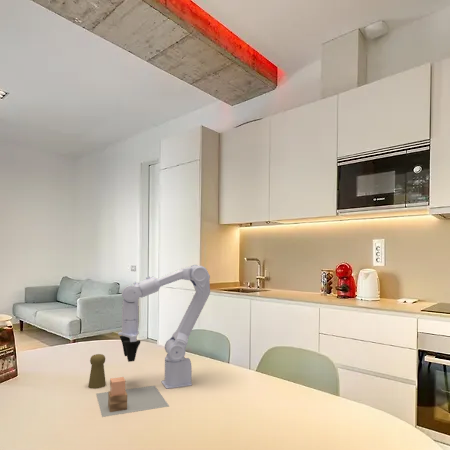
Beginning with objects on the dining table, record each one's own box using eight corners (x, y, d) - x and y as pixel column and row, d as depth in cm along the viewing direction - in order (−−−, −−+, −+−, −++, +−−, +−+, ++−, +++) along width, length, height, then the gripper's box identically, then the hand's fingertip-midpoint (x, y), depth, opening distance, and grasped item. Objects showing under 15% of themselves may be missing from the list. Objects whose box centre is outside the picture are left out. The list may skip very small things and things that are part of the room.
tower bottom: (124, 403, 121) (124, 396, 121) (127, 409, 116) (127, 402, 116) (108, 406, 119) (108, 398, 119) (110, 412, 114) (110, 404, 114)
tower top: (124, 396, 121) (124, 389, 121) (127, 402, 116) (127, 394, 117) (108, 398, 119) (108, 391, 119) (110, 404, 114) (110, 397, 115)
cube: (123, 390, 120) (123, 376, 121) (125, 394, 117) (125, 380, 117) (110, 391, 119) (110, 378, 119) (111, 396, 115) (111, 382, 115)
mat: (154, 386, 137) (154, 385, 137) (169, 406, 119) (169, 406, 119) (96, 394, 129) (96, 393, 129) (102, 417, 111) (102, 416, 111)
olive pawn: (100, 389, 133) (101, 357, 134) (84, 388, 135) (85, 356, 135) (109, 383, 139) (109, 353, 140) (93, 382, 141) (94, 352, 141)
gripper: (115, 316, 141) (114, 354, 140) (121, 323, 128) (120, 365, 127) (135, 315, 144) (134, 352, 143) (142, 322, 131) (142, 362, 130)
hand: (129, 358), depth 135 cm, fingers open, 7 cm apart
